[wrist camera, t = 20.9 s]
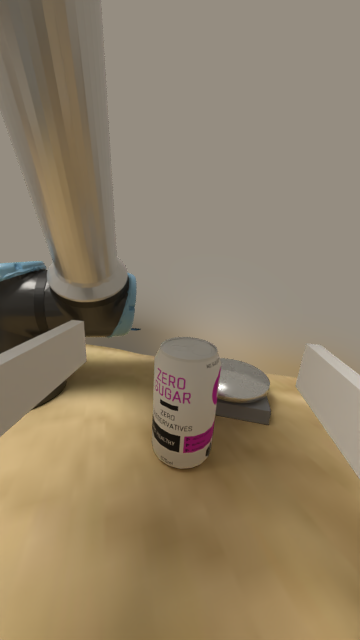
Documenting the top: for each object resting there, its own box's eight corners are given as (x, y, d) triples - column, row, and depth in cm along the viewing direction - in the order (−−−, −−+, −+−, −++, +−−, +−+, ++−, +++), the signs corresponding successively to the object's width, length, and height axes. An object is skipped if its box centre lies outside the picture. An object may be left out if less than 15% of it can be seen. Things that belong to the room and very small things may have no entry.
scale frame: (190, 410, 38) (191, 397, 37) (199, 374, 50) (200, 364, 49) (268, 425, 36) (271, 411, 35) (257, 383, 48) (259, 372, 47)
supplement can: (208, 426, 34) (218, 337, 30) (212, 476, 26) (227, 365, 22) (157, 421, 35) (160, 333, 31) (146, 469, 27) (149, 359, 23)
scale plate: (187, 408, 37) (188, 388, 36) (197, 370, 51) (198, 354, 49) (273, 424, 35) (277, 403, 34) (260, 379, 48) (262, 363, 47)
